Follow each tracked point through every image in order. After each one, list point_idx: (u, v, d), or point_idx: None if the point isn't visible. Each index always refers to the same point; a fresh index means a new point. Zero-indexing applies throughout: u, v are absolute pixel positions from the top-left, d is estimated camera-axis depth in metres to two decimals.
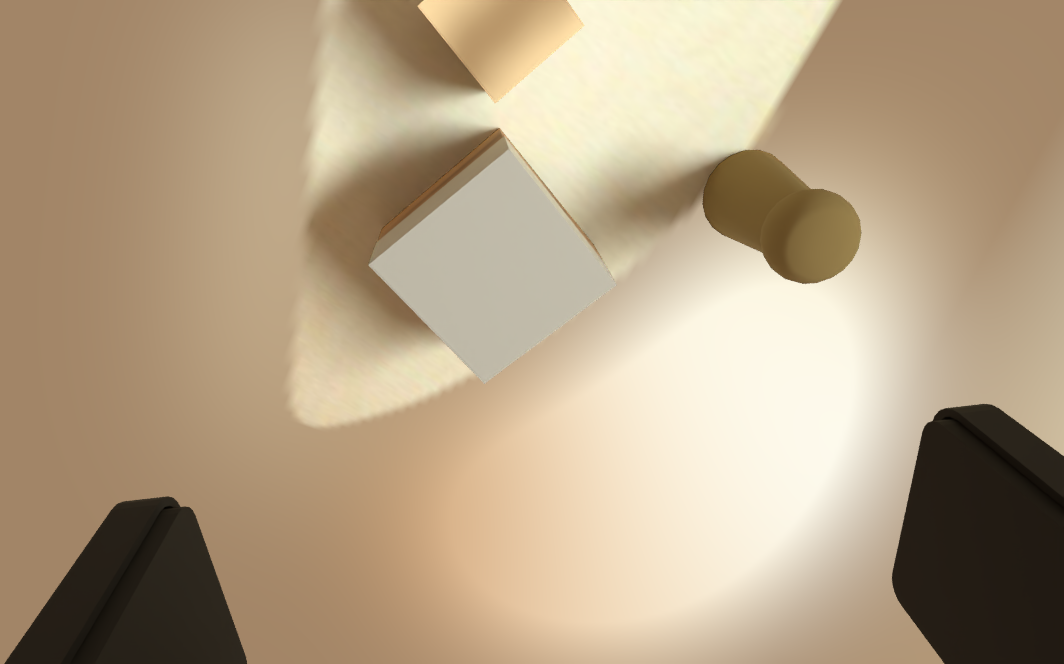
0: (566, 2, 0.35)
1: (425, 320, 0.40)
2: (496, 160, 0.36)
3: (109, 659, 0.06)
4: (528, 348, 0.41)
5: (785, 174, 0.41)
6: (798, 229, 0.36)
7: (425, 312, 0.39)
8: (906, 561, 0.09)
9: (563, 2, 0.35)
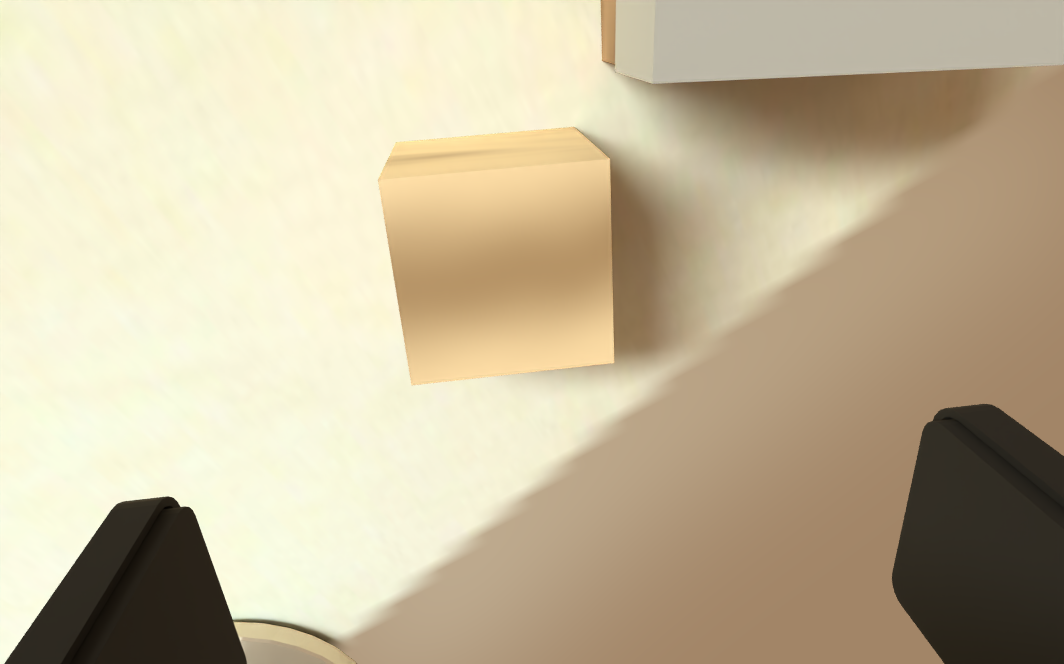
0: (389, 233, 0.18)
1: None
2: (690, 79, 0.16)
3: (109, 659, 0.06)
4: None
5: None
6: None
7: None
8: (906, 561, 0.09)
9: (395, 237, 0.18)
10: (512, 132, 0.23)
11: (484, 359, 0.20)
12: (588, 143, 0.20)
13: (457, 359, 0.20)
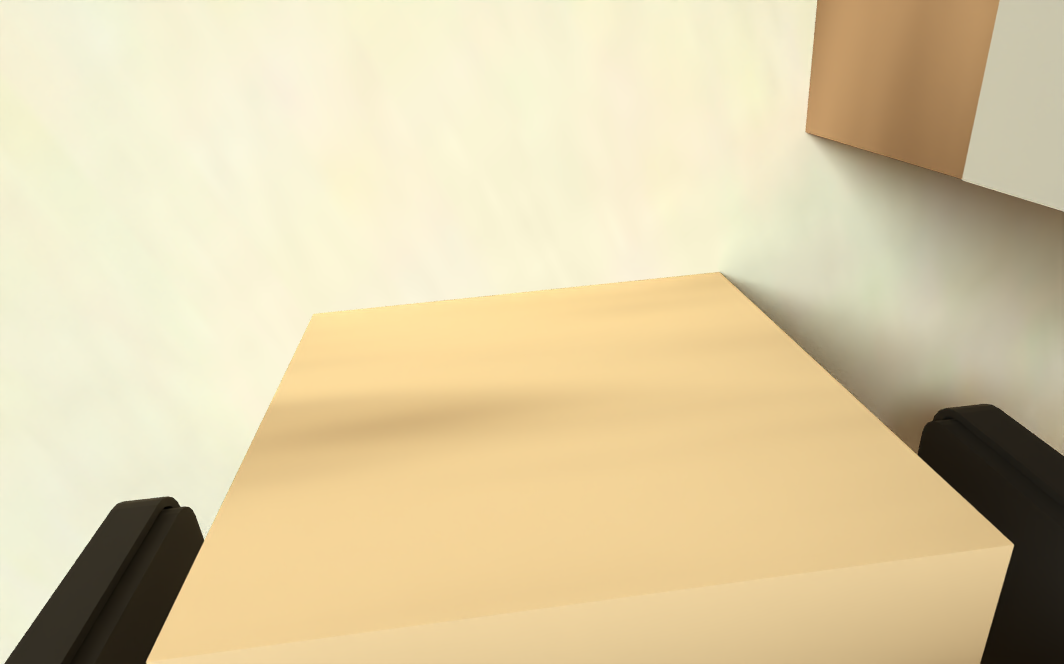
0: None
1: None
2: None
3: (109, 659, 0.06)
4: None
5: None
6: None
7: None
8: None
9: None
10: (581, 287, 0.10)
11: None
12: (822, 378, 0.07)
13: None
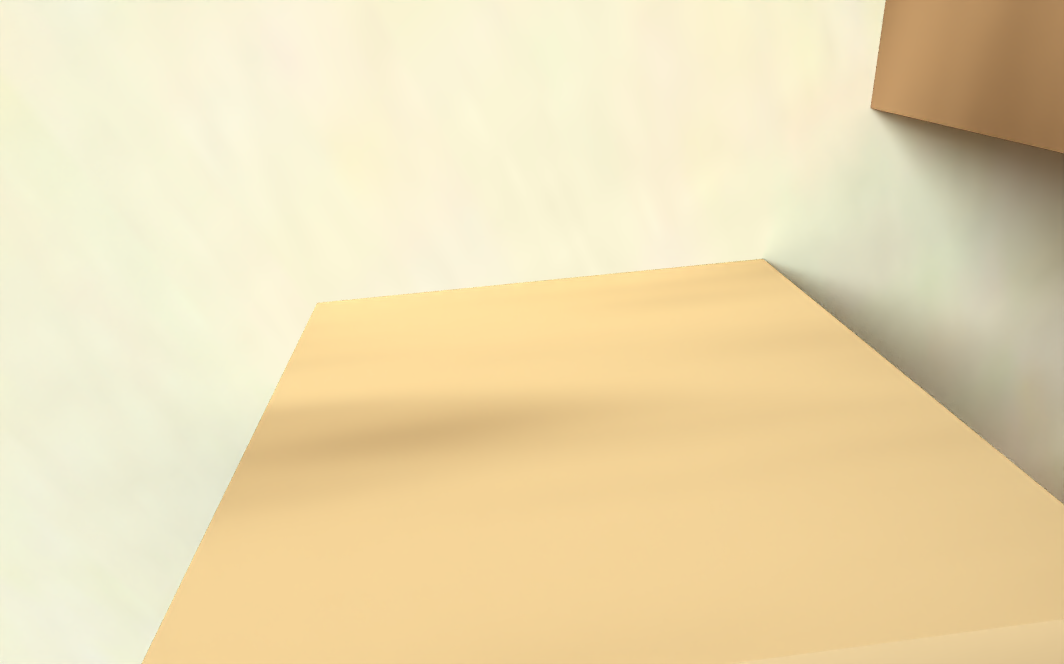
0: None
1: None
2: None
3: None
4: None
5: None
6: None
7: None
8: None
9: None
10: (612, 276, 0.09)
11: None
12: (903, 384, 0.06)
13: None
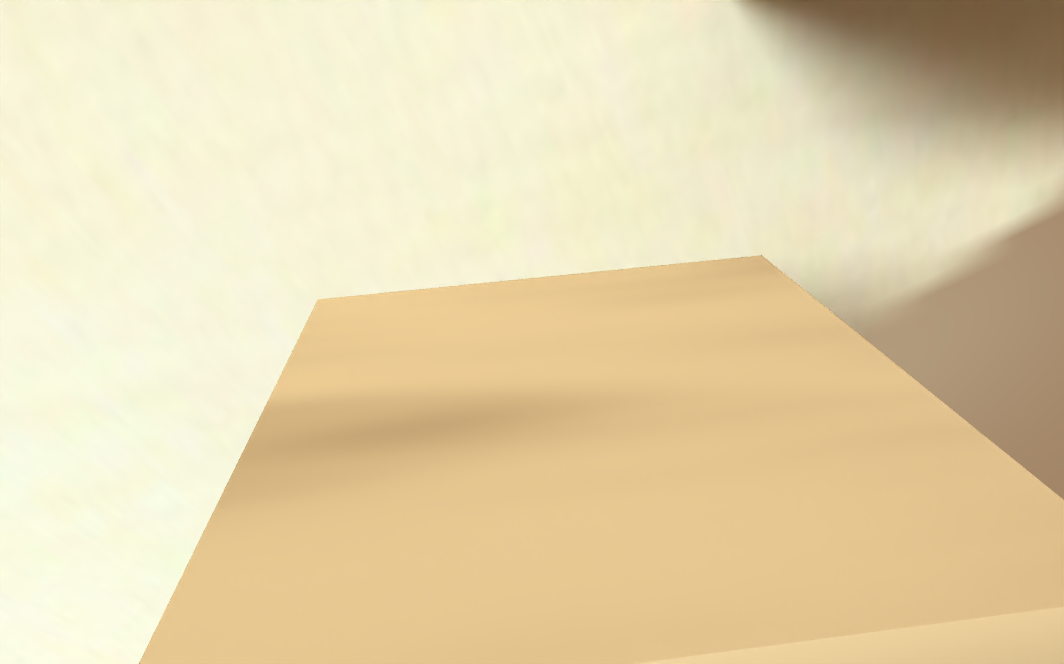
0: None
1: None
2: None
3: None
4: None
5: None
6: None
7: None
8: None
9: None
10: (611, 273, 0.09)
11: None
12: (900, 378, 0.06)
13: None
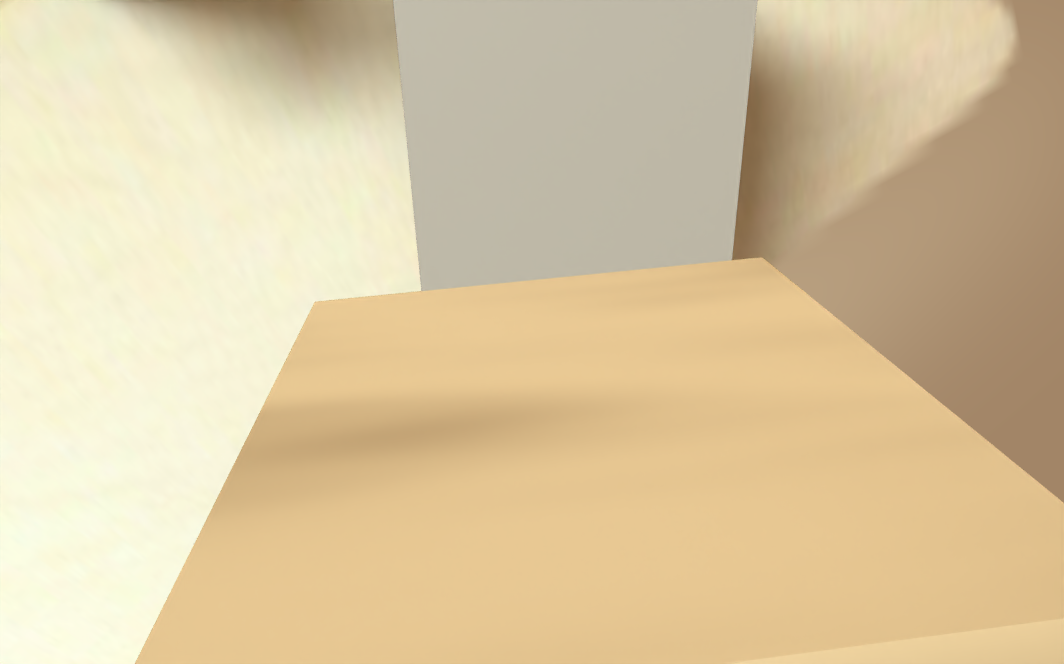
0: None
1: (736, 174, 0.21)
2: None
3: None
4: None
5: None
6: None
7: (724, 187, 0.21)
8: None
9: None
10: (610, 275, 0.09)
11: None
12: (902, 383, 0.06)
13: None
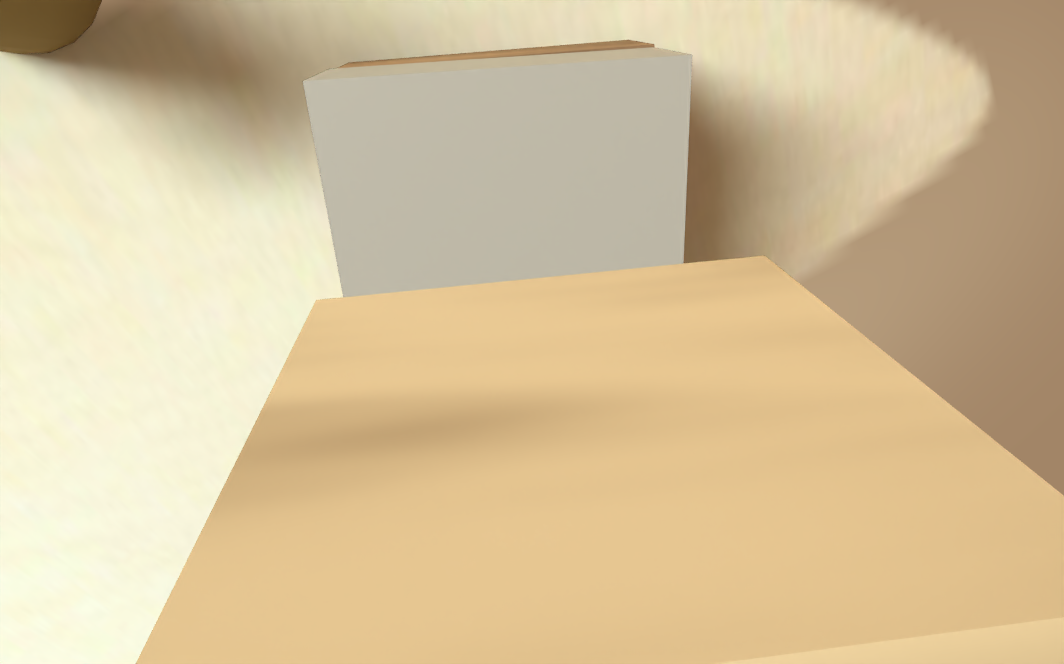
0: None
1: (679, 254, 0.20)
2: None
3: None
4: (557, 69, 0.18)
5: None
6: None
7: None
8: None
9: None
10: (612, 273, 0.09)
11: None
12: (906, 380, 0.06)
13: None
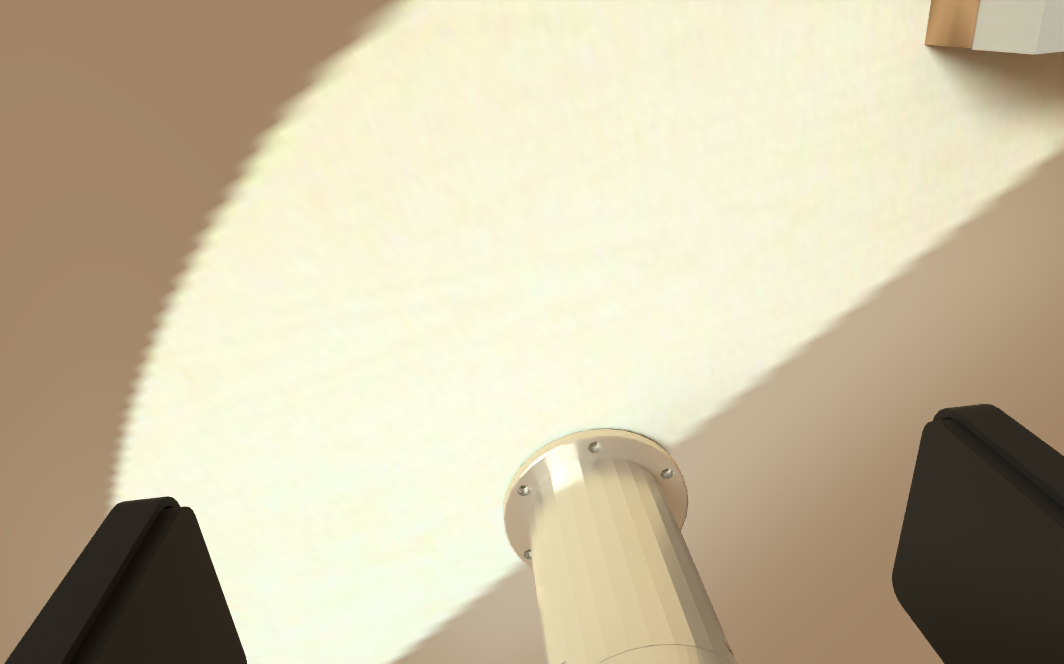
0: None
1: None
2: (1053, 50, 0.30)
3: (109, 659, 0.06)
4: None
5: None
6: None
7: None
8: (906, 561, 0.09)
9: None
10: None
11: None
12: None
13: None
